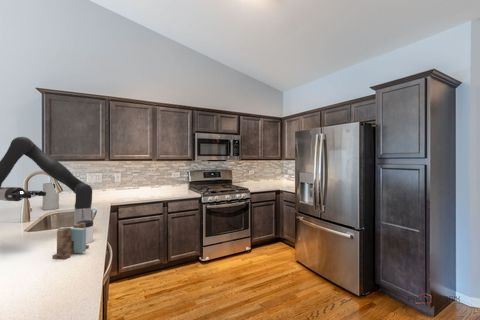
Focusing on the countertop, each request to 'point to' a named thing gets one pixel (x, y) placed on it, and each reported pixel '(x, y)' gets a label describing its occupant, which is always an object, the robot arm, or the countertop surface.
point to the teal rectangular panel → (78, 238)
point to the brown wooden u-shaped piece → (66, 242)
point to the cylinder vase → (50, 197)
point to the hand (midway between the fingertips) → (38, 195)
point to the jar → (88, 230)
